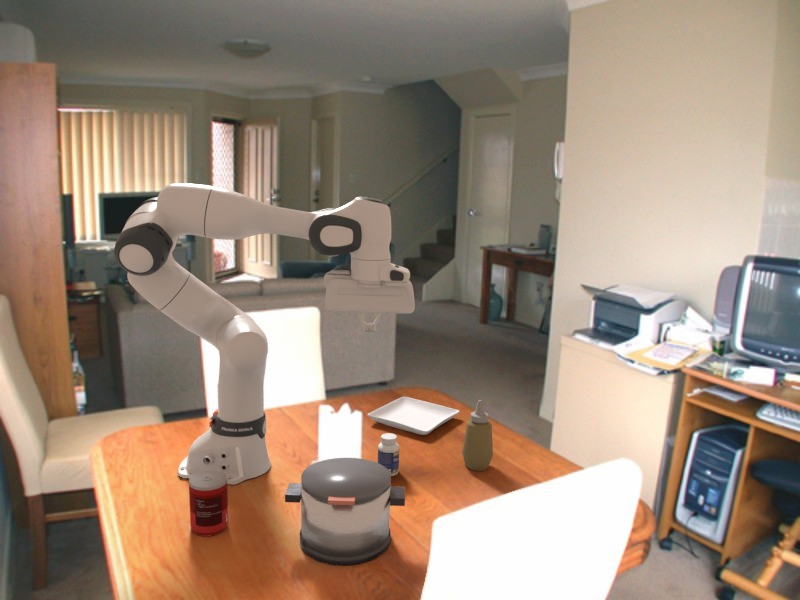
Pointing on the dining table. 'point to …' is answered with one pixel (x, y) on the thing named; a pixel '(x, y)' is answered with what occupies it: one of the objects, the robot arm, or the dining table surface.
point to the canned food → (208, 502)
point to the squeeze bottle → (478, 440)
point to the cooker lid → (345, 480)
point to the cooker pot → (345, 526)
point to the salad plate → (413, 415)
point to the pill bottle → (389, 453)
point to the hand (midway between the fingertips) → (369, 331)
